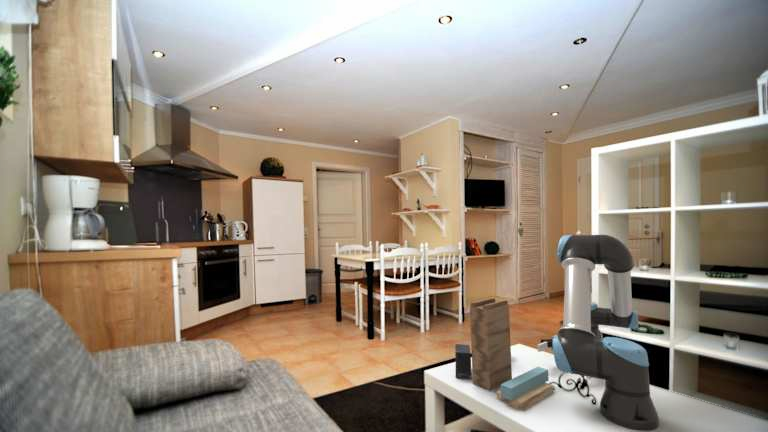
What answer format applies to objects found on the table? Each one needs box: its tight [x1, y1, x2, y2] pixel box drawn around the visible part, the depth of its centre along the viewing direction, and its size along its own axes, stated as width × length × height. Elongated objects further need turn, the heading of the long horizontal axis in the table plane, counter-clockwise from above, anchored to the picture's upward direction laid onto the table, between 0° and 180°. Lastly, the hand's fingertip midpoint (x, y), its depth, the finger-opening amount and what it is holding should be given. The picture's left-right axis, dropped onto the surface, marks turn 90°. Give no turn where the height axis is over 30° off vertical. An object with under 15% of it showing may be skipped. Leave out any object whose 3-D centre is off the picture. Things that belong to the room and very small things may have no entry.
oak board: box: [495, 382, 554, 411], centre depth 124 cm, size 10×20×2 cm, turn 127°
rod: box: [500, 366, 549, 401], centre depth 124 cm, size 4×24×4 cm, turn 126°
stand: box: [469, 297, 513, 392], centre depth 136 cm, size 8×14×32 cm, turn 126°
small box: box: [454, 343, 472, 379], centre depth 144 cm, size 11×6×10 cm, turn 168°
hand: (554, 352), depth 137 cm, fingers open, 13 cm apart
